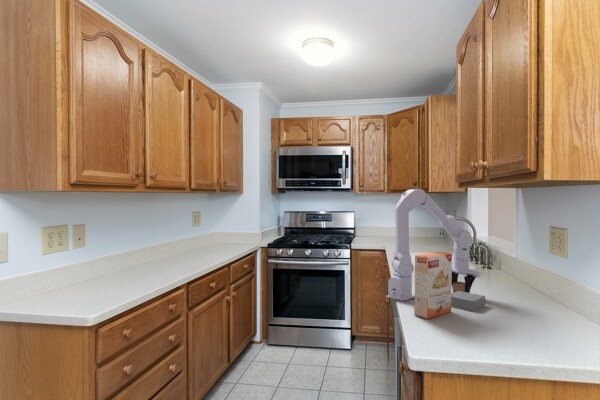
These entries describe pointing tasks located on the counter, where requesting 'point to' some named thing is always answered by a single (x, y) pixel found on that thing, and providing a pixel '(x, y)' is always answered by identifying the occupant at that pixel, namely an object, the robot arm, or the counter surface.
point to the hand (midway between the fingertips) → (461, 291)
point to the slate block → (467, 301)
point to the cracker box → (433, 284)
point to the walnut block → (459, 286)
